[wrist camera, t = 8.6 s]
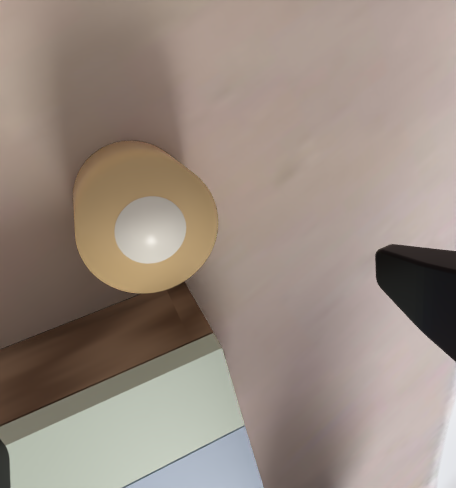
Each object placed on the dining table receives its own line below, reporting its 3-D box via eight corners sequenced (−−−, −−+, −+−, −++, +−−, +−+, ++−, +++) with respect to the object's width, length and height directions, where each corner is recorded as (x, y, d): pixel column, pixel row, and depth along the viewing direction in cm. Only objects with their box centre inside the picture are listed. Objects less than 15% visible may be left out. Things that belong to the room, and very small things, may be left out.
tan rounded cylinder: (170, 126, 17) (200, 140, 13) (198, 228, 20) (230, 265, 16) (52, 160, 16) (48, 187, 12) (98, 264, 18) (106, 313, 14)
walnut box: (182, 277, 20) (212, 331, 16) (222, 402, 25) (255, 469, 21) (-111, 393, 17) (-171, 499, 13) (-1, 511, 22) (-18, 618, 17)
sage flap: (213, 333, 16) (221, 347, 15) (236, 408, 18) (244, 424, 17) (-172, 502, 13) (-189, 533, 12) (-84, 567, 15) (-93, 596, 14)
